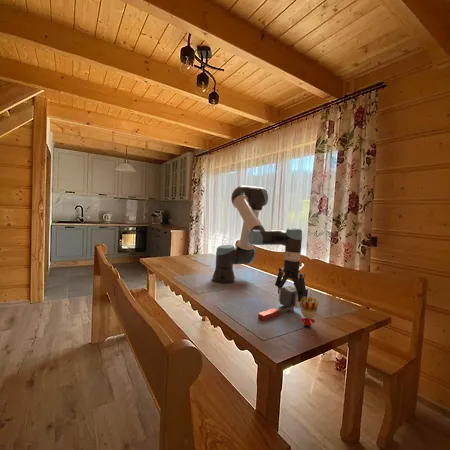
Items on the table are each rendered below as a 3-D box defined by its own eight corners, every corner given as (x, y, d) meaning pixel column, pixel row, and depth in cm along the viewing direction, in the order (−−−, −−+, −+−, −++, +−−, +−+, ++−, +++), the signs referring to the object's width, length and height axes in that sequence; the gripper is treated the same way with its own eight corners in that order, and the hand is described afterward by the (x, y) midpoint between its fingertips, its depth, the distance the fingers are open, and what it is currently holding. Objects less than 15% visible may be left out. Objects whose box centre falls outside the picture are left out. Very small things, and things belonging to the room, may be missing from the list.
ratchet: (287, 307, 133) (288, 292, 132) (295, 310, 129) (297, 295, 128) (256, 318, 118) (257, 301, 117) (264, 322, 114) (266, 304, 113)
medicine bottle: (295, 302, 140) (297, 280, 139) (289, 297, 147) (290, 277, 146) (307, 301, 142) (309, 280, 141) (300, 297, 149) (301, 276, 148)
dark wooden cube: (287, 301, 133) (288, 286, 132) (298, 305, 128) (299, 289, 128) (279, 303, 129) (281, 288, 128) (290, 308, 124) (291, 291, 123)
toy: (312, 323, 115) (315, 290, 114) (319, 331, 108) (322, 296, 107) (296, 322, 115) (299, 290, 114) (302, 330, 108) (305, 295, 107)
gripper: (269, 256, 133) (266, 298, 135) (307, 265, 116) (303, 313, 118) (279, 255, 138) (276, 295, 140) (316, 263, 121) (313, 310, 123)
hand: (288, 304), depth 129 cm, fingers open, 9 cm apart
